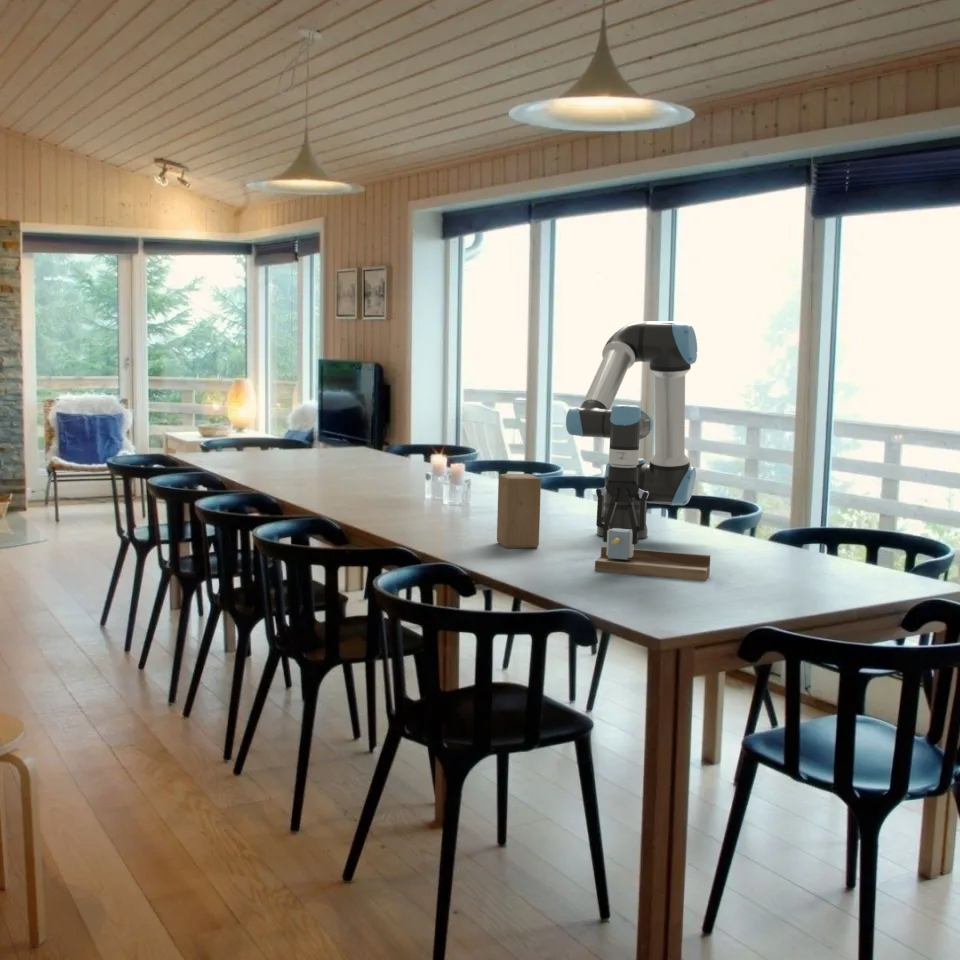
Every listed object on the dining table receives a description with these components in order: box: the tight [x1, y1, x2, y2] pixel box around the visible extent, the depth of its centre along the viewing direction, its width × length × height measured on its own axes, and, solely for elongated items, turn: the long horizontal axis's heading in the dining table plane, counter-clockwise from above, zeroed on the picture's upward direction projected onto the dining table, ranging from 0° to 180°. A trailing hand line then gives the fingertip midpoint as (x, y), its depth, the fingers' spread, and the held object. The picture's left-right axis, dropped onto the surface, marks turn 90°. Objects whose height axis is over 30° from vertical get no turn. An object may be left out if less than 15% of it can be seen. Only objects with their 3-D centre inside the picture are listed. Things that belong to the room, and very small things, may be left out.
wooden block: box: [496, 473, 542, 549], centre depth 323 cm, size 10×10×20 cm
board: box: [594, 545, 711, 582], centre depth 291 cm, size 8×28×5 cm, turn 72°
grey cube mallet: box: [608, 528, 632, 560], centre depth 290 cm, size 10×5×7 cm, turn 161°
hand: (619, 555), depth 293 cm, fingers closed on grey cube mallet, 5 cm apart
